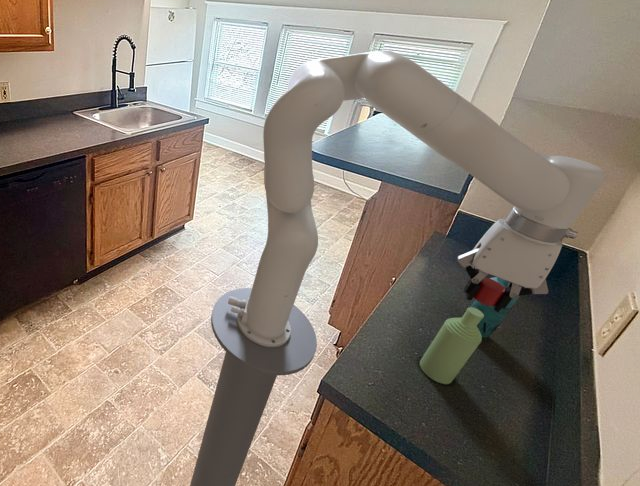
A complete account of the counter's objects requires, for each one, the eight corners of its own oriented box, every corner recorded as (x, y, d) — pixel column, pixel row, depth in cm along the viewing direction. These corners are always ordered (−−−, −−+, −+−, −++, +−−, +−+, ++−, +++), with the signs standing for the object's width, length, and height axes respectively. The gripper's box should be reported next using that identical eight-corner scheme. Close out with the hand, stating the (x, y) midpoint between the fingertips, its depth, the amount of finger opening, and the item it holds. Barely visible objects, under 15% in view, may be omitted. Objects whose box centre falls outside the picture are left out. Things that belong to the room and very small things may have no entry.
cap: (497, 300, 75) (507, 286, 73) (493, 309, 72) (504, 295, 70) (473, 288, 77) (483, 275, 75) (469, 297, 75) (478, 283, 73)
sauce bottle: (422, 376, 83) (462, 317, 74) (417, 354, 88) (453, 296, 80) (456, 388, 81) (500, 329, 73) (448, 364, 87) (489, 306, 78)
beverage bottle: (451, 322, 98) (490, 263, 89) (471, 320, 100) (512, 261, 91) (474, 344, 93) (518, 282, 83) (495, 341, 94) (541, 280, 85)
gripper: (591, 235, 65) (531, 311, 74) (475, 200, 73) (433, 272, 82) (606, 256, 60) (538, 335, 68) (479, 216, 67) (432, 292, 76)
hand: (481, 300), depth 75 cm, fingers closed on cap, 3 cm apart
